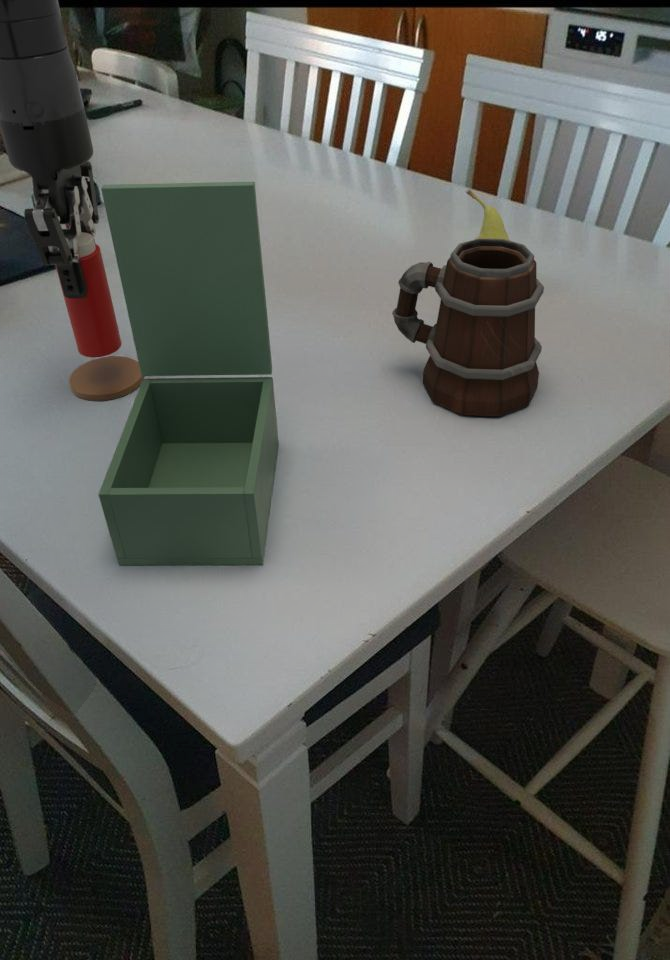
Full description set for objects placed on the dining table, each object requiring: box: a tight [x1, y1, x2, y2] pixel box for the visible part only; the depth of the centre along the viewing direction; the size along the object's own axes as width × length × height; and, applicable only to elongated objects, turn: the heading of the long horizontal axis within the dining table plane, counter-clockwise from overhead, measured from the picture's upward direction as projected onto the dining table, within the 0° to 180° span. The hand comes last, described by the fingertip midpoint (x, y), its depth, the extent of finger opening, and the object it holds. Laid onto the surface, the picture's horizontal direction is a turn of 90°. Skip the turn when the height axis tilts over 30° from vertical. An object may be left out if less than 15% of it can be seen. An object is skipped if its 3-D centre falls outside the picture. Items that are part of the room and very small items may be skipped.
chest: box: [97, 376, 280, 566], centre depth 71 cm, size 17×12×8 cm
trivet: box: [68, 355, 145, 402], centre depth 89 cm, size 8×8×1 cm
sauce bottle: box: [54, 232, 123, 359], centre depth 83 cm, size 5×5×12 cm
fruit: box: [465, 188, 511, 241], centre depth 101 cm, size 7×8×12 cm
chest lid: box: [100, 181, 273, 377], centre depth 71 cm, size 17×12×5 cm
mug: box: [392, 238, 545, 417], centre depth 82 cm, size 16×12×15 cm
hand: (83, 283), depth 82 cm, fingers closed on sauce bottle, 4 cm apart
